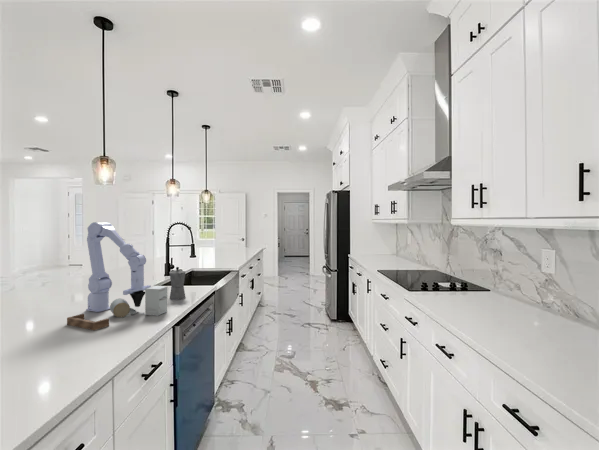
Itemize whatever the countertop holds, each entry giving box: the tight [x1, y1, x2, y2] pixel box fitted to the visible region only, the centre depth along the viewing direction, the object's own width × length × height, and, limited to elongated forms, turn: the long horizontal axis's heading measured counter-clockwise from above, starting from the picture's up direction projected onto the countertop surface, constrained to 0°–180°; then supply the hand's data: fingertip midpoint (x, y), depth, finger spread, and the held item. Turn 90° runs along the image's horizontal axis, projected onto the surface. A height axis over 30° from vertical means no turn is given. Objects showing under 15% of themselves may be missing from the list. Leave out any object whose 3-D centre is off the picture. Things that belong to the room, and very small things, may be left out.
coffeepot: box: [169, 266, 186, 301], centre depth 192 cm, size 15×9×18 cm, turn 44°
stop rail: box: [66, 313, 110, 331], centre depth 141 cm, size 18×6×3 cm, turn 66°
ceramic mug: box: [109, 298, 138, 319], centre depth 155 cm, size 11×8×8 cm
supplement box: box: [144, 285, 168, 316], centre depth 159 cm, size 7×7×13 cm
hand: (137, 306), depth 163 cm, fingers closed
